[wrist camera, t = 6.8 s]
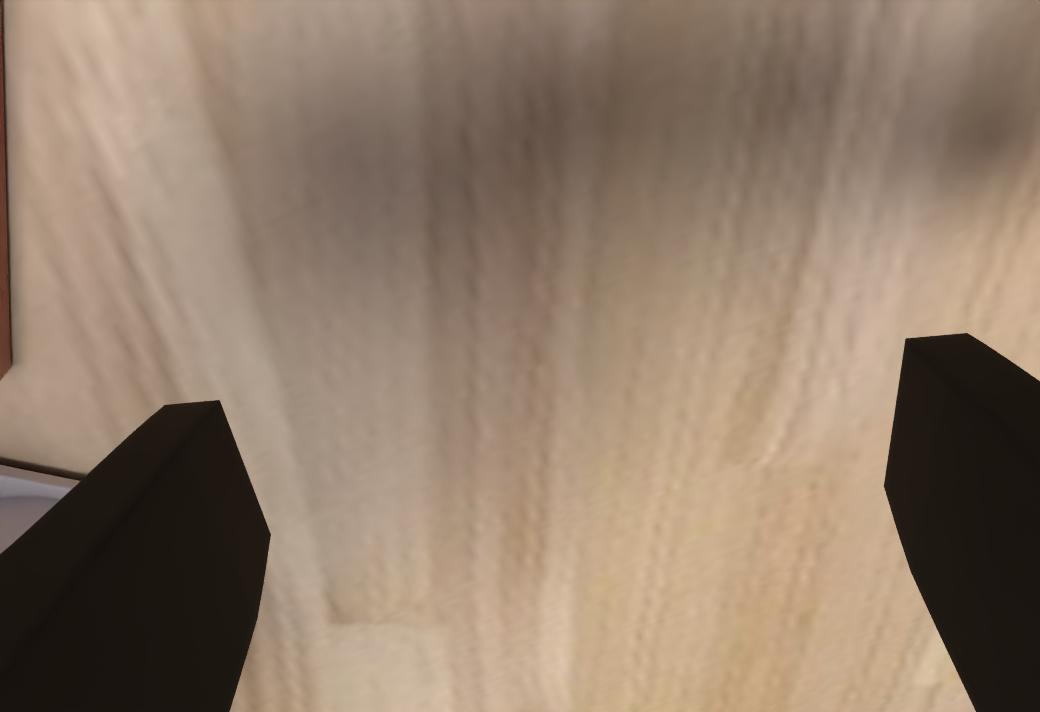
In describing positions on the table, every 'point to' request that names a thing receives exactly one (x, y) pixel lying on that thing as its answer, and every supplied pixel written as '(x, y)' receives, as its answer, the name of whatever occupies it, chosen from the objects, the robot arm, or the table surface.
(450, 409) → the table surface
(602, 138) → the table surface
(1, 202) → the dial panel
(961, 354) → the robot arm
